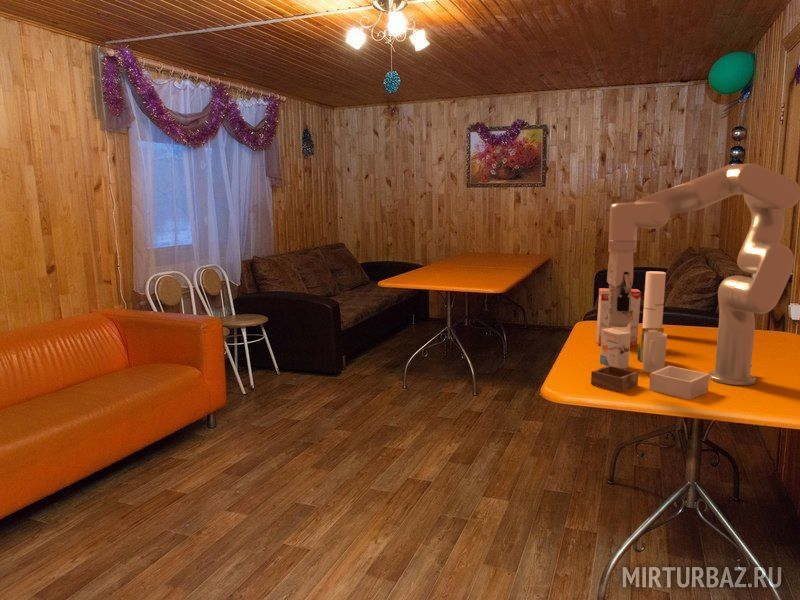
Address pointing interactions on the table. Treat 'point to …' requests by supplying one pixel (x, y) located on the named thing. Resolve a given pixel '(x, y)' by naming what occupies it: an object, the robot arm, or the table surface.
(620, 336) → the ink box
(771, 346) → the table surface
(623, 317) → the energy drink can
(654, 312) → the cylindrical container
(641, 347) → the crayon box
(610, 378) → the walnut holder
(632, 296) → the cracker box
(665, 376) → the grey bin
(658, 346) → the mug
